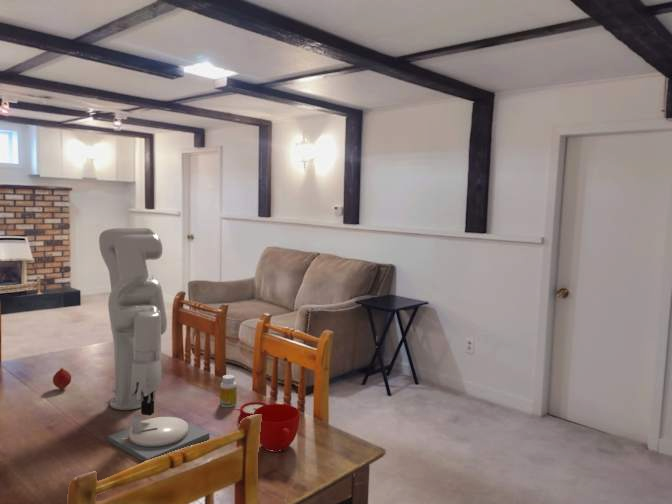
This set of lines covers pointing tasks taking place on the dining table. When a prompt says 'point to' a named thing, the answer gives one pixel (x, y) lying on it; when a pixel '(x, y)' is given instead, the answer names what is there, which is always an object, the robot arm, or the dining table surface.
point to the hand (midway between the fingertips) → (147, 413)
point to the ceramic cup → (278, 425)
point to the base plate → (148, 453)
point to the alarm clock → (249, 409)
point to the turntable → (157, 431)
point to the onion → (62, 379)
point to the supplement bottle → (228, 391)
